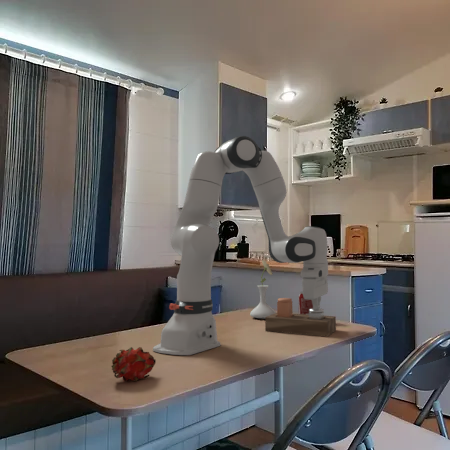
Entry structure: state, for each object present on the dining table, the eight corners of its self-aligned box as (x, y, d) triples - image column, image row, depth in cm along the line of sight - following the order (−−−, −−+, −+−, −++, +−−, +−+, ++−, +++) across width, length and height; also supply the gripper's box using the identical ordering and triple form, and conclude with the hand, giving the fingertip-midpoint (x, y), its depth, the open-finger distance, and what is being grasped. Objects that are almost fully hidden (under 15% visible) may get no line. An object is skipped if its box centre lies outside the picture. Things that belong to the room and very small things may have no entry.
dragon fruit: (106, 390, 105) (151, 387, 112) (121, 375, 100) (167, 373, 107) (102, 356, 110) (145, 355, 117) (116, 340, 105) (160, 340, 112)
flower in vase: (274, 320, 184) (273, 260, 185) (247, 319, 187) (246, 260, 188) (278, 315, 197) (277, 259, 198) (253, 314, 200) (252, 259, 201)
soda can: (317, 323, 178) (316, 293, 178) (300, 323, 178) (299, 293, 178) (314, 320, 184) (313, 291, 185) (297, 320, 185) (297, 291, 185)
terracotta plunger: (289, 319, 163) (289, 300, 163) (276, 318, 166) (275, 299, 166) (293, 317, 168) (293, 298, 168) (280, 316, 170) (280, 297, 170)
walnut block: (327, 336, 153) (327, 321, 153) (265, 331, 164) (265, 317, 164) (335, 330, 164) (335, 316, 164) (277, 325, 174) (276, 312, 175)
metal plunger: (321, 330, 158) (321, 310, 158) (307, 329, 160) (307, 309, 160) (325, 328, 162) (325, 308, 162) (311, 326, 165) (311, 307, 165)
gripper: (315, 269, 173) (316, 304, 172) (298, 272, 154) (299, 313, 154) (331, 269, 170) (332, 305, 169) (316, 273, 151) (317, 314, 151)
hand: (316, 309), depth 161 cm, fingers closed, pressing on metal plunger
